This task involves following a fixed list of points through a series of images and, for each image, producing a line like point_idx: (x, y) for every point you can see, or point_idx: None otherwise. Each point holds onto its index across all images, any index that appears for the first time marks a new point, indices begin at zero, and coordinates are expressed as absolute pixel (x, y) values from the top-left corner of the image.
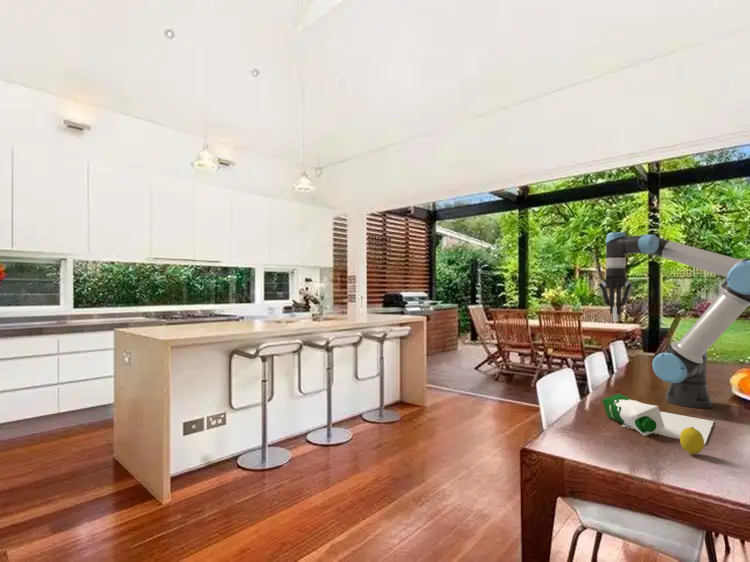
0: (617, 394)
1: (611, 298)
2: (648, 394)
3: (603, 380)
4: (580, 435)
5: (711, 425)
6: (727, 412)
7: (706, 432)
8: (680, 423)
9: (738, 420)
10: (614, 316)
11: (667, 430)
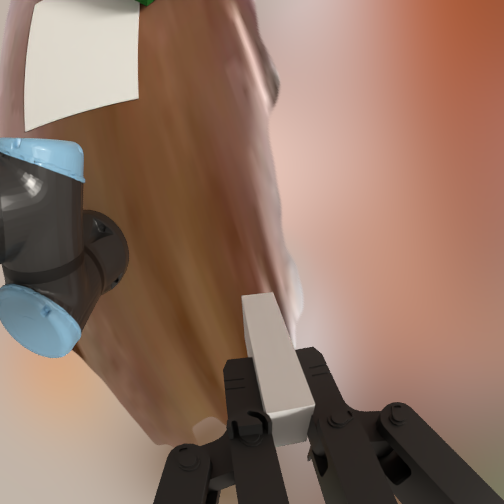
0: None
1: (371, 498)
2: (169, 260)
3: (293, 315)
4: None
5: (24, 99)
6: None
7: (29, 51)
8: (59, 58)
9: None
10: (267, 323)
11: (75, 3)
